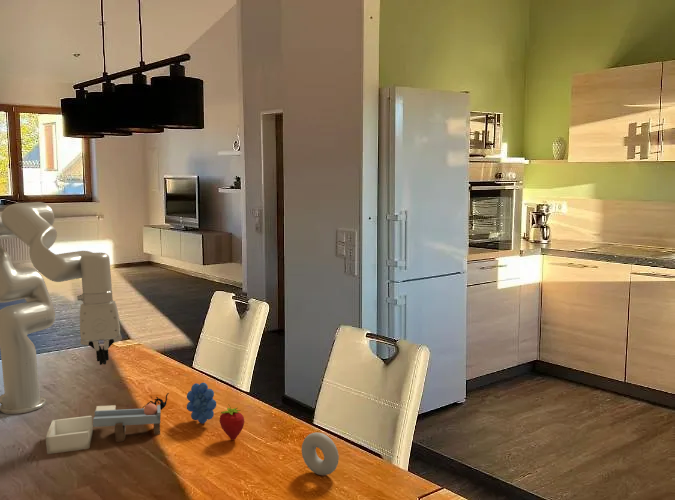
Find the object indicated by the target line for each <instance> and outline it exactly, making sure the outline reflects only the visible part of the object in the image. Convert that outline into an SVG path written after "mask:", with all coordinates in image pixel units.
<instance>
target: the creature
mask: <svg viewBox="0 0 675 500" xmlns="http://www.w3.org/2000/svg"><path fill="white" fill-rule="evenodd" d="M169 394H170V393H169V392H167V393H166V395H165V401H164V400H163V399H161V398H159V397H157V396H156V397H155V399H154V398H153V397H152V396H150V399H153V400H154V401H153V400H150V401H149V402H147V403H146V404H145V405H143V406H142V408H141V409H143V408H145V406H146V405H147V404H150V403H152V404H155V405H156V406H157V405H160V411H162V410H163V409H165V407H166V406H167V402H168V401H167V400H168V395H169Z"/></svg>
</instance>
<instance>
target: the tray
mask: <svg viewBox="0 0 675 500" xmlns="http://www.w3.org/2000/svg"><path fill="white" fill-rule="evenodd" d="M93 429H94V427H93V416H92V415H85V416H84V415H83V416H77V417H76V416H75V417H68V418H67V417H66V418H60V419H52V420H51V424H50V426H49V428H48V430H47V433H46V436H45V445H46V455H51V454H57V453H58V454H59V453H65V452H73V451H79V450H80V451H81V450H82V451H83V450H88V449H90V447H91V442H92V436H93V432H94V430H93Z"/></svg>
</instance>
